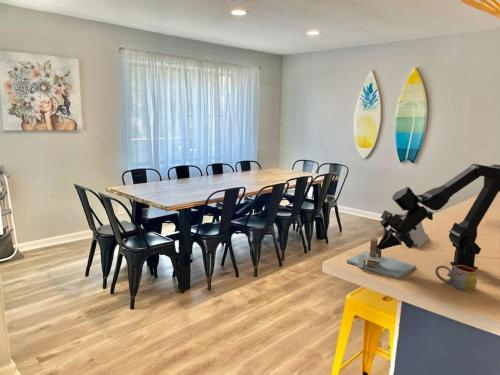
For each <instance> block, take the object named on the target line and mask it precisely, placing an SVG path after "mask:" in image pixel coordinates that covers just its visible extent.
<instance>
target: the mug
mask: <svg viewBox="0 0 500 375" xmlns="http://www.w3.org/2000/svg"><path fill="white" fill-rule="evenodd" d="M440 269H446V270H447V271H448V273H447V274H446V275H447V276H448V277H449V278H445V277H442V276H441V275H440V273H439V270H440ZM434 273H435V275H436V277H437V278H438V279H439V280H441V281H442V282H444V283H446V284H448V285H451V286H452V287H453V288H455V289H457V290H459V291H462V292H467V293H472V292H473V291H474V290H475V289H476V287H477V283H478V280H477V274H478V269H472V268H470V267H467V266H463V265H456V266H454V265H452V267H451V268H449V267H448V266H446V265H438V266H437V267H436V268H435V272H434Z"/></svg>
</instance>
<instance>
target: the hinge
mask: <svg viewBox="0 0 500 375" xmlns="http://www.w3.org/2000/svg"><path fill="white" fill-rule="evenodd" d="M422 222H423V221H422ZM422 222H420V223H419V224H418V225H417V226H416V228H417V229H416V230H411V231H410V232H409V233H408V234H407V235H408V236H409V237H410V238H411V239H412V240H413V241H414V246H416V247H417V248H418V249H419V248H420V247H421V246H423V245H424V244H425V243H426V242H427V241H428V240H430V237H429V234H428V233H426V231H425V228H424V225H423V223H422Z"/></svg>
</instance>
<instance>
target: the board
mask: <svg viewBox="0 0 500 375" xmlns="http://www.w3.org/2000/svg"><path fill="white" fill-rule="evenodd" d="M360 254H364V255H366V256H370V251H367V250H365V251H363V252H361V253H358V254H356V255H354V256H352V257H350V258H348V259H346V263H347V264H350V265H354V266H356V267H358V257H359V255H360ZM379 258H385V260H384V262H378V261H377V262H376V264H375V267H370V266H367V261H368V260H366V264H365V265H364V268H363V269H365V268H366V270H369V271H372V272H376V273H378V274H381V275H384V276H388V277H390V278H393V279H397V280H400V279H401V278H403V277H404V276H406V275H407V274H409V273H411V272H412V271H414V270H415V269H416V268H417V265H416V264H412V263H409V262H406V261H401V260H398V259H395V258H391V257H388V256H385V255H381V257H379Z"/></svg>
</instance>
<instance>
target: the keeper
mask: <svg viewBox="0 0 500 375" xmlns="http://www.w3.org/2000/svg"><path fill="white" fill-rule="evenodd" d="M359 254H360V253H359ZM366 260H372V261H378V262H384V260H385V258H379V257H372V256H366V255H364V254H360V255H359V257H358V266H357V267H358V268H360V269H365V268H364V265H365V264H366Z"/></svg>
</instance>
